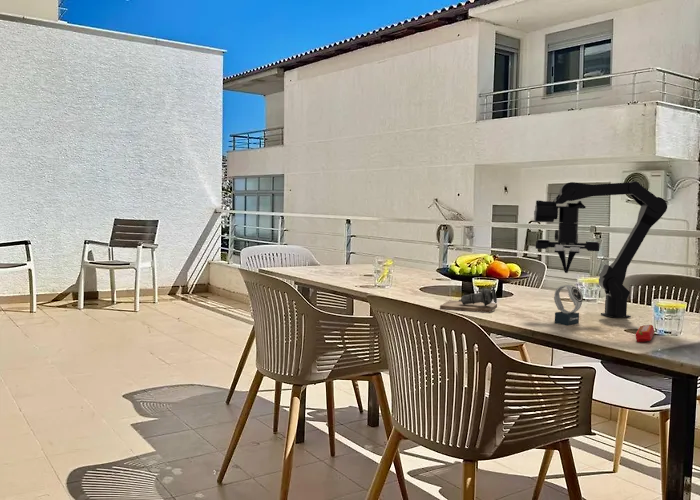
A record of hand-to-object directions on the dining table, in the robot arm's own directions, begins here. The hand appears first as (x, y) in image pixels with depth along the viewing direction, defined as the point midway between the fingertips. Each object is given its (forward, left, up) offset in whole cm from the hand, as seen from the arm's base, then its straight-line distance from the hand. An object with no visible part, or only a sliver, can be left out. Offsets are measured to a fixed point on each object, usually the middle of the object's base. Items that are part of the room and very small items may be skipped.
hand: (566, 272), depth 208 cm
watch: (-16, +9, -13) cm, 23 cm away
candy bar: (-38, 0, -14) cm, 41 cm away
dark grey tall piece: (+11, +18, -8) cm, 23 cm away
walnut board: (+16, +25, -13) cm, 32 cm away
